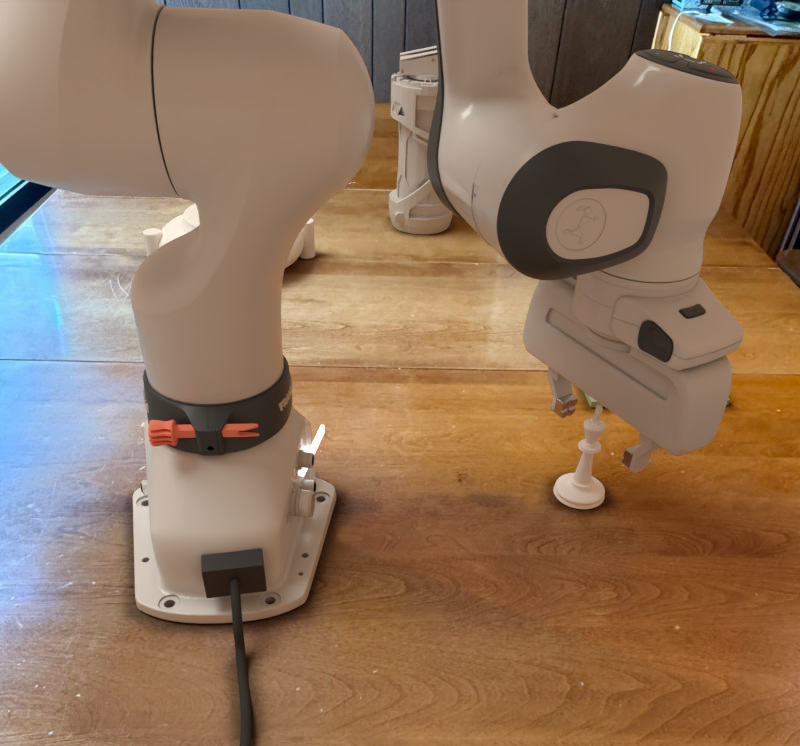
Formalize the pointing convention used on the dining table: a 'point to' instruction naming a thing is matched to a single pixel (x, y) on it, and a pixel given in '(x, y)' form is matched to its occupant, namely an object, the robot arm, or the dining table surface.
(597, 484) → the chess piece
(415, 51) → the lantern
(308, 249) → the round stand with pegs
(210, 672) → the dining table surface
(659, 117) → the robot arm
